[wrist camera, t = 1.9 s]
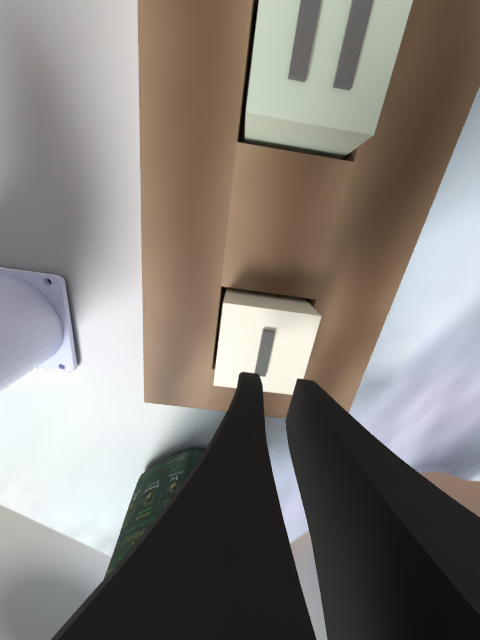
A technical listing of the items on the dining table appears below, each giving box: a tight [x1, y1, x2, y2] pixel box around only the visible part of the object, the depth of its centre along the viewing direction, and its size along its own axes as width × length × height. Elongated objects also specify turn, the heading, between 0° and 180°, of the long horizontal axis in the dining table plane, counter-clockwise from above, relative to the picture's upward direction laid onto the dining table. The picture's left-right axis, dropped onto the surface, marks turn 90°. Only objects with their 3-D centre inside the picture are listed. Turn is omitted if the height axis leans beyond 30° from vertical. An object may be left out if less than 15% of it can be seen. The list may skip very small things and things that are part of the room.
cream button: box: [213, 287, 321, 395], centre depth 13 cm, size 5×5×4 cm
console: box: [138, 0, 480, 418], centre depth 13 cm, size 14×24×4 cm, turn 172°
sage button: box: [244, 0, 413, 160], centre depth 9 cm, size 5×5×4 cm
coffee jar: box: [104, 449, 204, 579], centre depth 15 cm, size 10×8×19 cm
